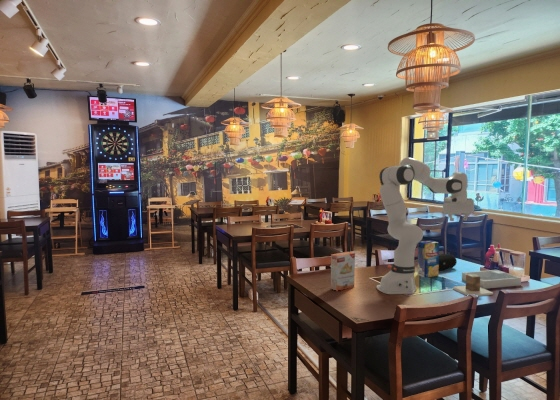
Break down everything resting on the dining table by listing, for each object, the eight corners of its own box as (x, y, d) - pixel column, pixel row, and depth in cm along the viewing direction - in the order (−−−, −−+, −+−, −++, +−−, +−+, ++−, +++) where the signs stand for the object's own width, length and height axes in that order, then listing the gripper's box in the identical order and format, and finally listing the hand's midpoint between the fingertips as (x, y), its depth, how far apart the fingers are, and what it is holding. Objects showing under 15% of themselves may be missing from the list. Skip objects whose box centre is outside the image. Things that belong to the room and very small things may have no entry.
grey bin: (483, 289, 205) (483, 281, 205) (461, 280, 222) (462, 272, 222) (520, 286, 211) (521, 277, 210) (496, 277, 228) (496, 269, 227)
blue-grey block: (497, 283, 215) (497, 273, 214) (490, 280, 219) (491, 271, 219) (504, 282, 216) (504, 272, 215) (497, 280, 221) (498, 270, 220)
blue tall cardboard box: (438, 275, 233) (439, 242, 231) (424, 277, 229) (425, 243, 228) (431, 272, 239) (431, 240, 237) (417, 274, 236) (418, 241, 234)
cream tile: (471, 297, 193) (471, 294, 193) (453, 289, 206) (453, 286, 206) (493, 295, 196) (493, 292, 196) (474, 287, 209) (474, 284, 209)
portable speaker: (430, 273, 238) (430, 259, 237) (418, 270, 247) (419, 255, 246) (457, 269, 248) (457, 255, 247) (445, 265, 257) (446, 252, 256)
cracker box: (337, 292, 204) (337, 256, 202) (330, 289, 209) (330, 254, 207) (355, 287, 211) (355, 252, 209) (348, 285, 216) (348, 250, 214)
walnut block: (472, 291, 198) (472, 276, 197) (465, 288, 203) (466, 274, 202) (479, 290, 199) (480, 276, 198) (473, 287, 204) (473, 273, 203)
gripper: (469, 197, 226) (469, 219, 227) (441, 198, 222) (440, 220, 223) (477, 198, 220) (476, 220, 221) (448, 199, 216) (447, 222, 217)
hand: (458, 220), depth 222 cm, fingers open, 8 cm apart
